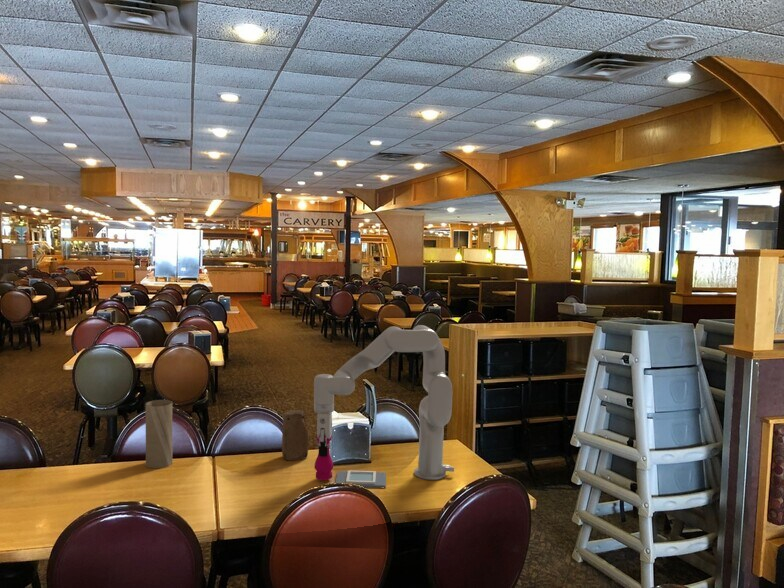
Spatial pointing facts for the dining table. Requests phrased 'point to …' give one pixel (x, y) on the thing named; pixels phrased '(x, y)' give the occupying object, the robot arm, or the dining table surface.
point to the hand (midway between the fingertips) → (324, 453)
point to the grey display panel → (362, 478)
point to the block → (294, 435)
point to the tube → (158, 434)
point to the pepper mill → (324, 463)
